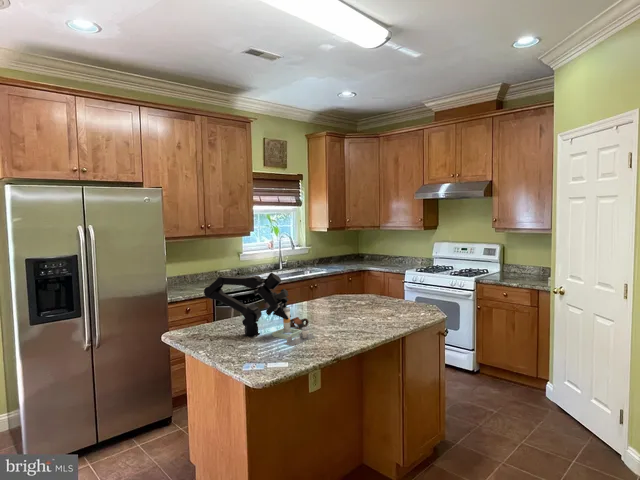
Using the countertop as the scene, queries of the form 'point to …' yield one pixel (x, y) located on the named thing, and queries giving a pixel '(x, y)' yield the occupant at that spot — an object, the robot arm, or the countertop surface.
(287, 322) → the banded fuse
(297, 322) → the pottery mug
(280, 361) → the countertop surface
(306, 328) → the cylinder
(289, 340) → the block
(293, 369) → the countertop surface
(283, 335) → the tray
